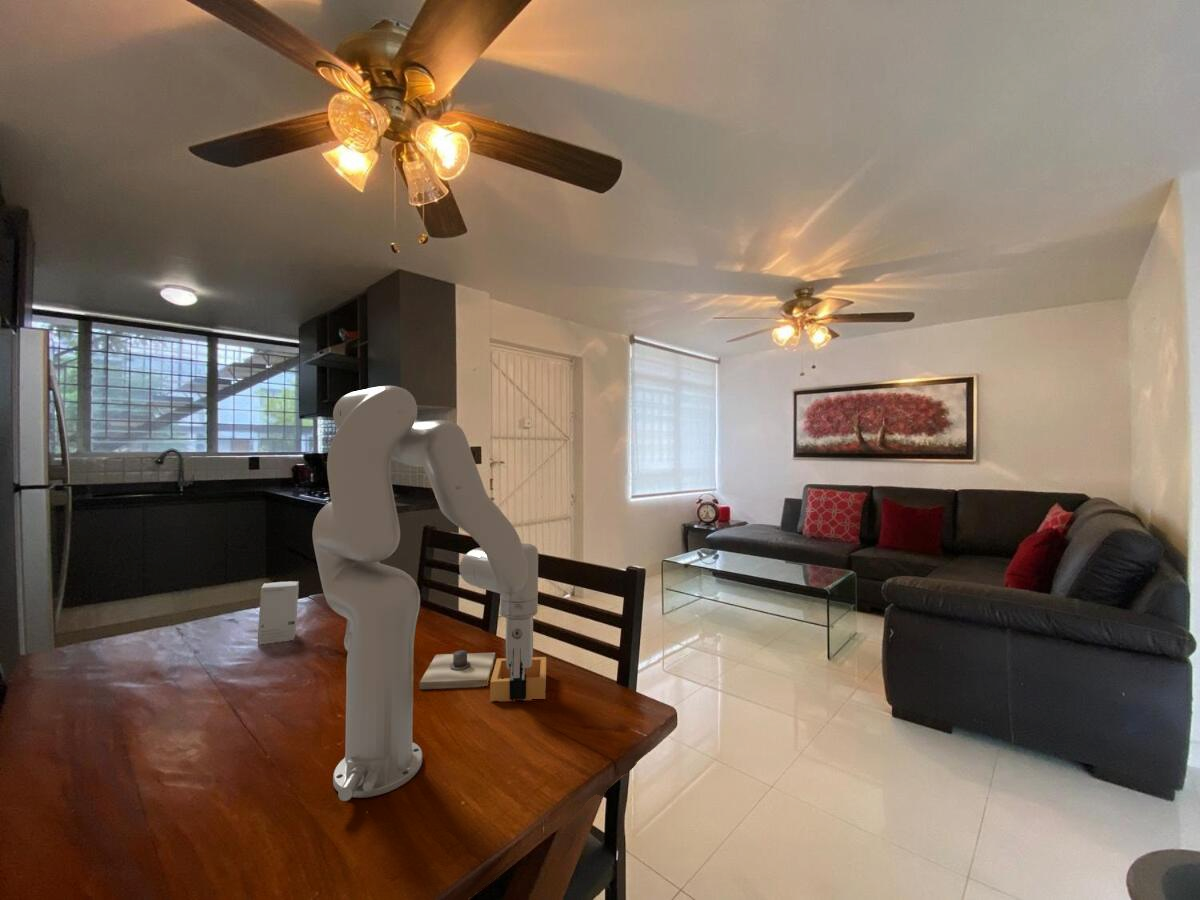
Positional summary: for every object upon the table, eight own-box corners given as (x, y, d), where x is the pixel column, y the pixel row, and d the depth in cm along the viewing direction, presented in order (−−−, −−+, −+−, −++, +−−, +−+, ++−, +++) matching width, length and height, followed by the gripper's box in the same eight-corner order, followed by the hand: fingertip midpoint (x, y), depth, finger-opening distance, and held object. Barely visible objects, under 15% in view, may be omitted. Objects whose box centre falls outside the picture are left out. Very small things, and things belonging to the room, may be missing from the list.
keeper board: (487, 686, 101) (487, 665, 101) (419, 689, 99) (419, 667, 100) (495, 658, 115) (495, 640, 115) (435, 660, 113) (436, 641, 113)
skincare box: (257, 646, 121) (258, 588, 121) (261, 638, 127) (262, 582, 127) (295, 640, 125) (296, 584, 125) (298, 633, 130) (299, 579, 131)
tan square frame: (545, 699, 96) (545, 679, 96) (490, 701, 95) (490, 681, 95) (546, 674, 107) (546, 656, 107) (496, 676, 105) (496, 658, 106)
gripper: (536, 618, 89) (535, 716, 88) (538, 594, 104) (537, 678, 104) (495, 619, 88) (494, 718, 88) (504, 595, 103) (503, 679, 103)
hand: (518, 696), depth 96 cm, fingers closed on tan square frame, 1 cm apart
